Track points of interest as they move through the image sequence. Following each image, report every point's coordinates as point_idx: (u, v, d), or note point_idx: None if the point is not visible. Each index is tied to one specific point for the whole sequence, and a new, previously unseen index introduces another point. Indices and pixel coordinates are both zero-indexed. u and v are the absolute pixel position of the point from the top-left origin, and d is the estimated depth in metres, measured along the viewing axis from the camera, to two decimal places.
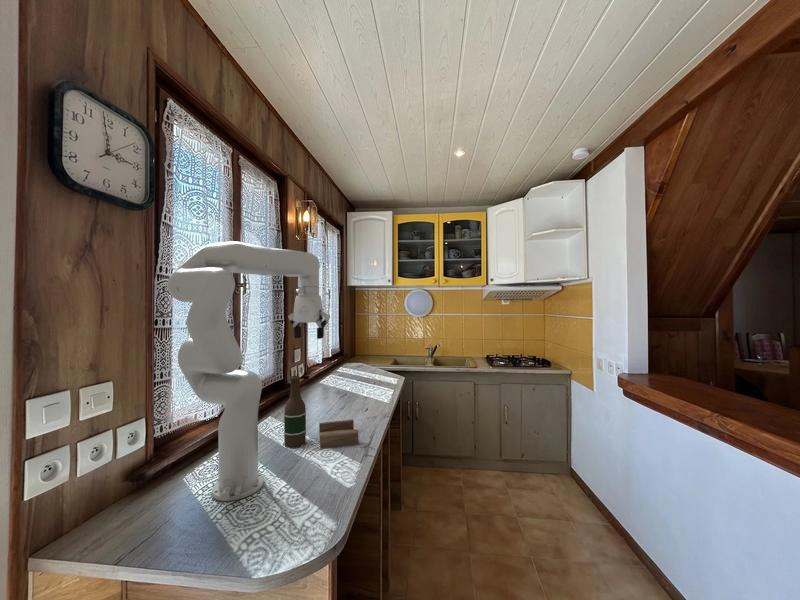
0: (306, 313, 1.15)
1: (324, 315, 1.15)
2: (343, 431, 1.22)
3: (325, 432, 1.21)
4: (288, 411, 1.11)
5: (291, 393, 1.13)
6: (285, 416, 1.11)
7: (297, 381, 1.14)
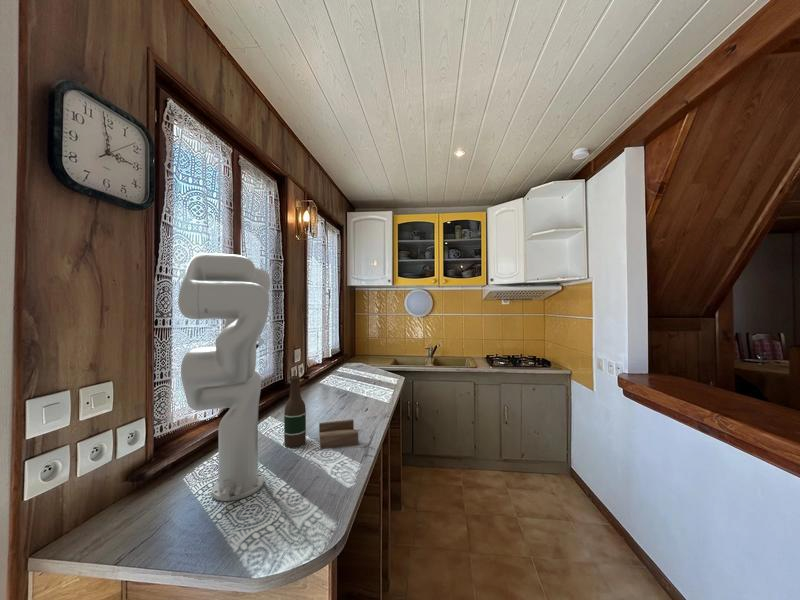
0: None
1: (259, 340, 1.11)
2: (343, 431, 1.22)
3: (325, 432, 1.21)
4: (288, 411, 1.11)
5: (291, 393, 1.13)
6: (285, 416, 1.11)
7: (297, 381, 1.14)
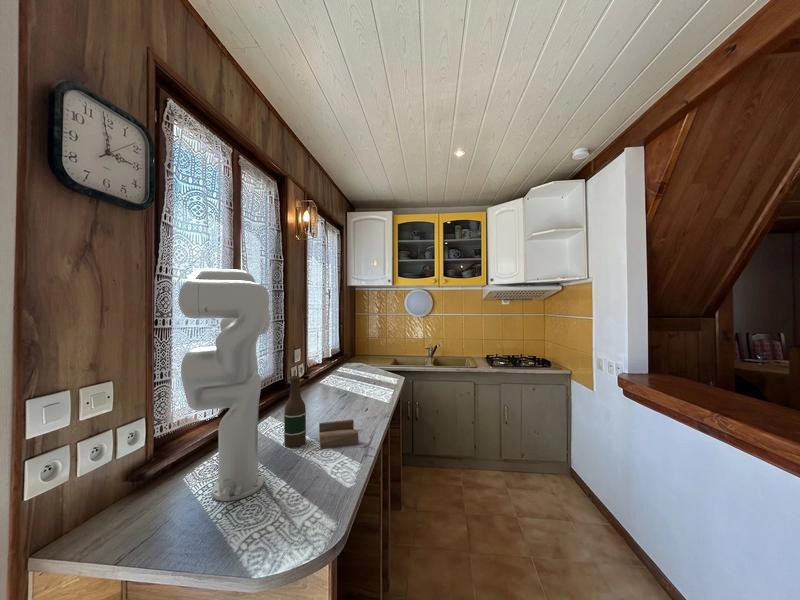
0: None
1: None
2: (343, 431, 1.22)
3: (325, 432, 1.21)
4: (288, 411, 1.11)
5: (291, 393, 1.13)
6: (285, 416, 1.11)
7: (297, 381, 1.14)
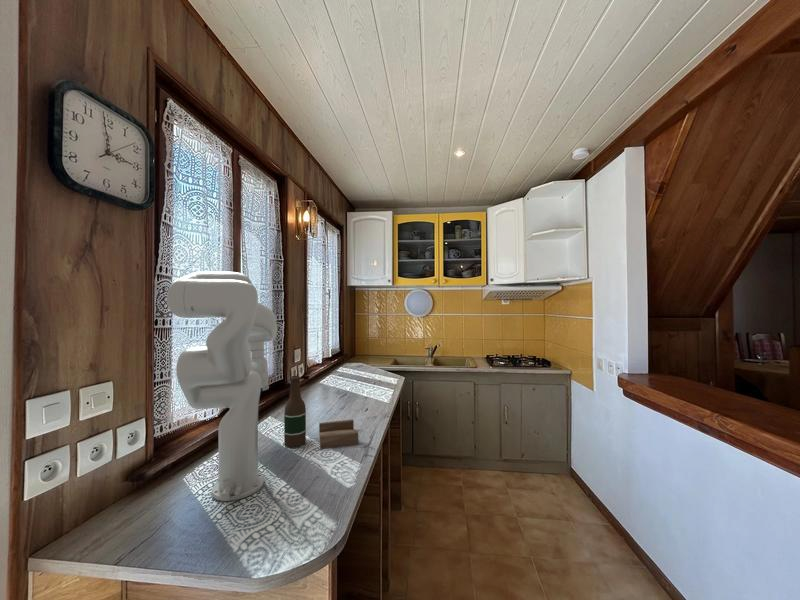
0: None
1: None
2: (343, 431, 1.22)
3: (325, 432, 1.21)
4: (288, 411, 1.11)
5: (291, 393, 1.13)
6: (285, 416, 1.11)
7: (297, 381, 1.14)
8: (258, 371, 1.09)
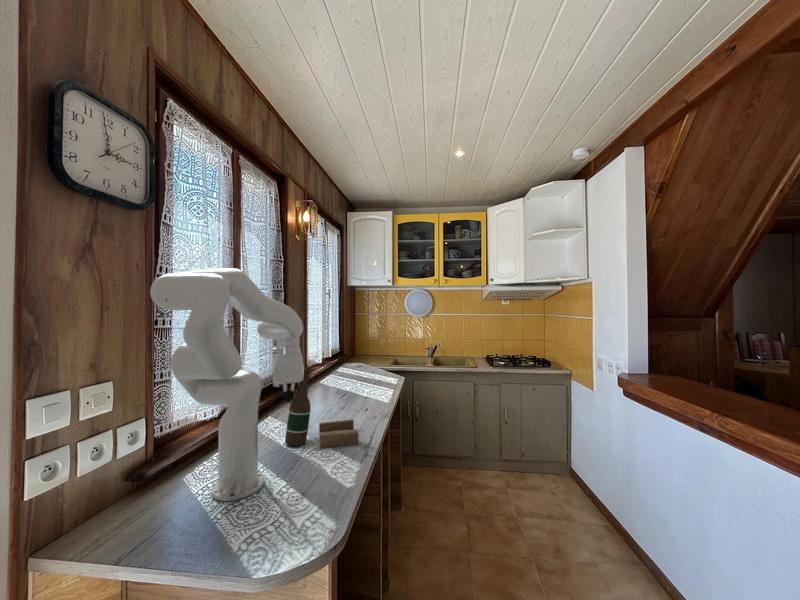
0: (291, 374, 1.12)
1: None
2: (343, 431, 1.22)
3: (325, 432, 1.21)
4: (293, 408, 1.12)
5: (298, 390, 1.14)
6: (290, 413, 1.12)
7: (306, 379, 1.15)
8: (295, 366, 1.12)
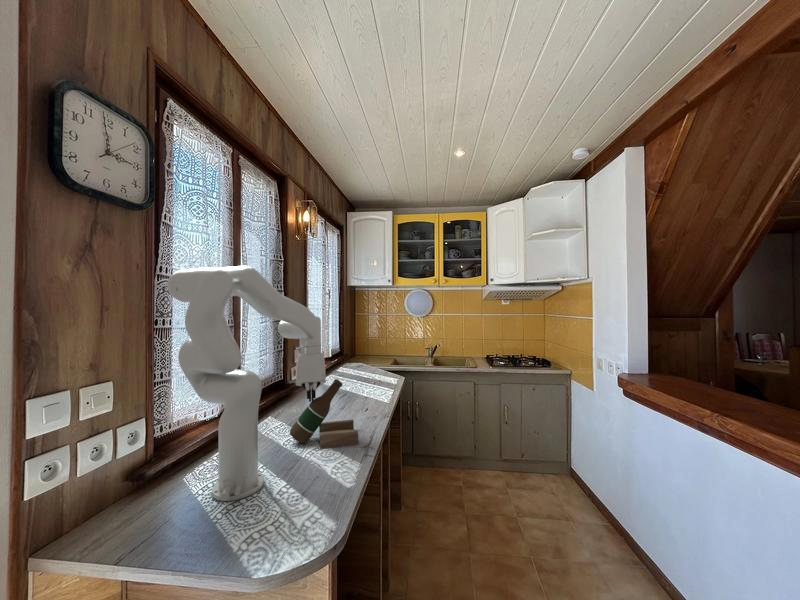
0: (313, 373, 1.14)
1: None
2: (343, 431, 1.22)
3: (325, 432, 1.21)
4: (314, 406, 1.14)
5: (327, 392, 1.17)
6: (309, 408, 1.14)
7: (338, 387, 1.18)
8: (317, 366, 1.14)
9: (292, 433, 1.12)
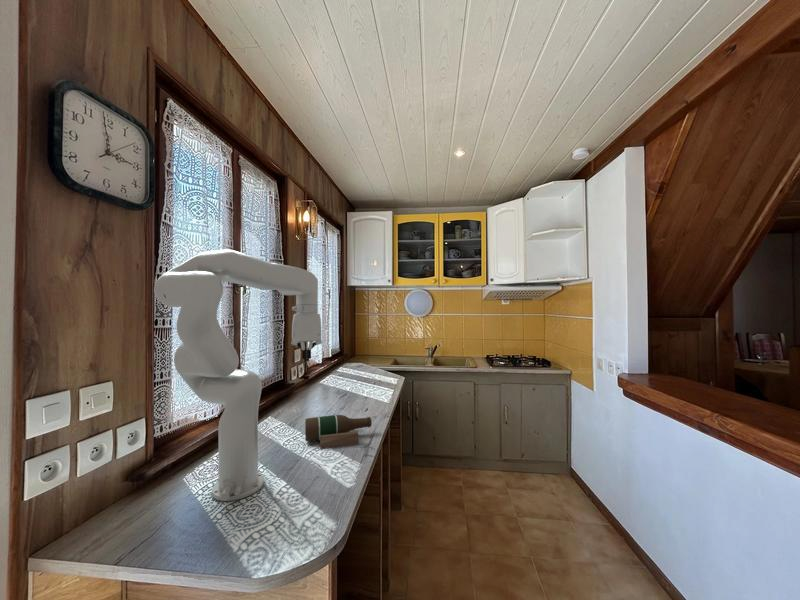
0: (309, 332, 1.13)
1: None
2: None
3: None
4: (341, 421, 1.16)
5: (356, 420, 1.19)
6: (335, 419, 1.16)
7: (367, 425, 1.20)
8: (313, 325, 1.13)
9: (308, 423, 1.13)
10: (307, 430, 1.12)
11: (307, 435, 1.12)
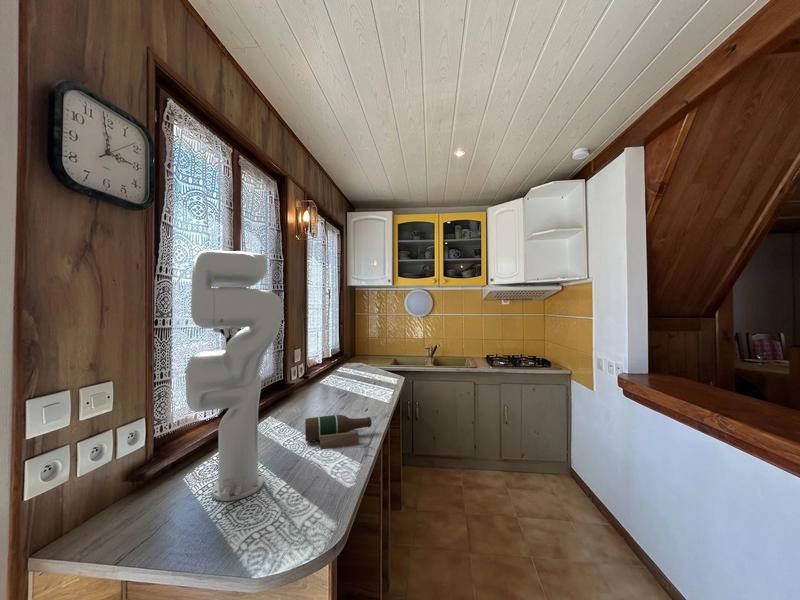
0: None
1: None
2: None
3: None
4: (341, 421, 1.16)
5: (356, 420, 1.19)
6: (335, 419, 1.16)
7: (367, 425, 1.20)
8: None
9: (308, 423, 1.13)
10: (307, 430, 1.12)
11: (307, 435, 1.12)
